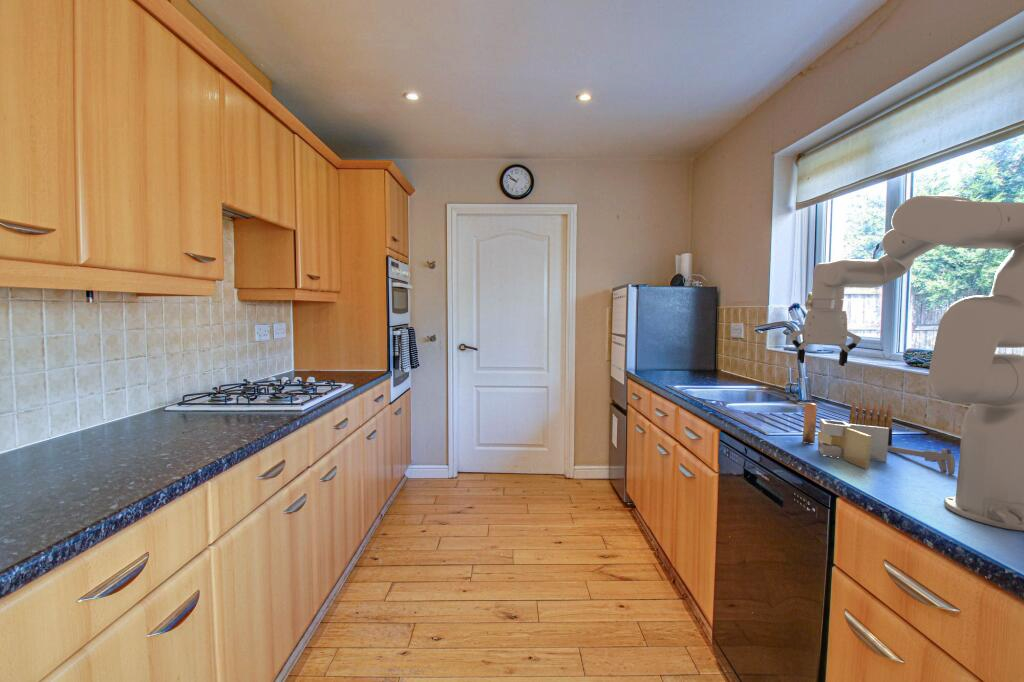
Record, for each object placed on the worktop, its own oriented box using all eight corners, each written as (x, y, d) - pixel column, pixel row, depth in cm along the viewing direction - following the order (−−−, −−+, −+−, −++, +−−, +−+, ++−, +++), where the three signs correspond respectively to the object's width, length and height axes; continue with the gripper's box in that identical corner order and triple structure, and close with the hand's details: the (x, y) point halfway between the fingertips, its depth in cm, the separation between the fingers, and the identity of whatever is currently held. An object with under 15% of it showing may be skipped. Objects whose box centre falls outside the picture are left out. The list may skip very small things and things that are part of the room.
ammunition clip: (889, 443, 130) (892, 404, 129) (891, 445, 128) (895, 406, 127) (846, 439, 134) (849, 401, 133) (848, 440, 132) (851, 402, 131)
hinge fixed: (889, 465, 111) (892, 430, 110) (822, 456, 117) (824, 423, 117) (881, 458, 116) (884, 425, 116) (817, 450, 122) (820, 418, 122)
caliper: (954, 476, 105) (956, 451, 104) (949, 476, 105) (952, 451, 104) (884, 449, 125) (886, 428, 125) (880, 449, 125) (882, 428, 125)
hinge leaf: (877, 469, 107) (879, 436, 107) (856, 468, 107) (858, 435, 107) (835, 450, 121) (837, 421, 121) (816, 450, 121) (818, 421, 121)
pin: (815, 444, 127) (818, 405, 126) (803, 443, 129) (806, 403, 128) (813, 442, 130) (816, 403, 129) (801, 440, 131) (804, 402, 130)
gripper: (793, 305, 125) (788, 363, 127) (868, 306, 117) (861, 368, 119) (789, 305, 132) (785, 360, 133) (860, 306, 124) (854, 364, 126)
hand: (821, 364), depth 126 cm, fingers open, 9 cm apart
